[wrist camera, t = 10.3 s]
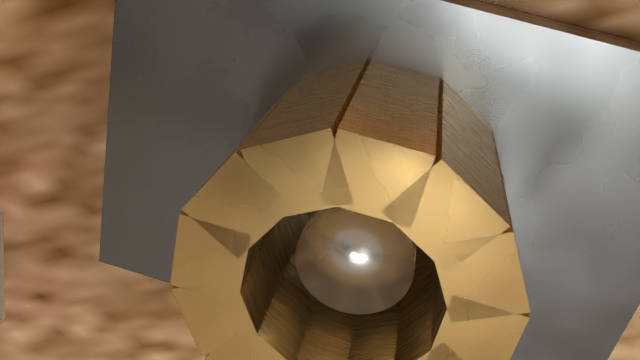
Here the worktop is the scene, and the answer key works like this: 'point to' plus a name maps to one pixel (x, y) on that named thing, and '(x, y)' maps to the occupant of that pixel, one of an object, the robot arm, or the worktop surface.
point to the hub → (362, 197)
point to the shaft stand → (369, 232)
